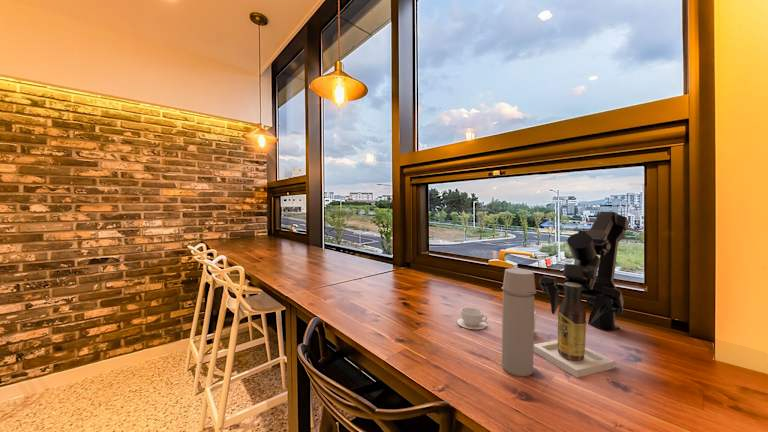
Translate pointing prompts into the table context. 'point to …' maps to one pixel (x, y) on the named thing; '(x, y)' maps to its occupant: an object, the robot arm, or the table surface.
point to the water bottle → (518, 321)
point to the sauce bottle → (572, 323)
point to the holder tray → (587, 366)
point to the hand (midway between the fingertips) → (570, 318)
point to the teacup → (472, 319)
